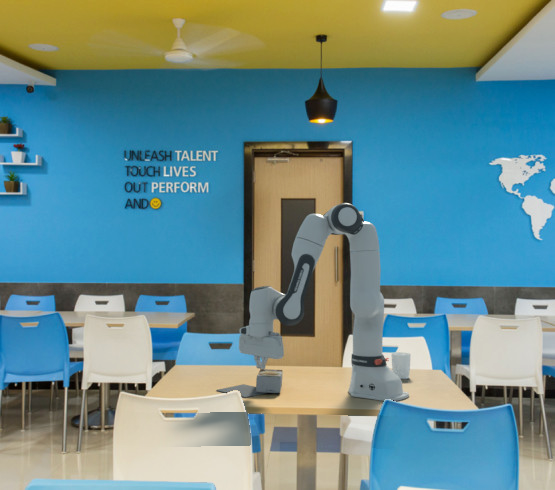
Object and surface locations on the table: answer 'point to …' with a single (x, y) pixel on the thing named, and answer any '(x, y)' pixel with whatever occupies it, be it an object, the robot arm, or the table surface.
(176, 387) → the table surface
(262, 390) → the coffee box
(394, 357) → the white cup
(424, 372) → the table surface
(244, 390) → the rubber mat
